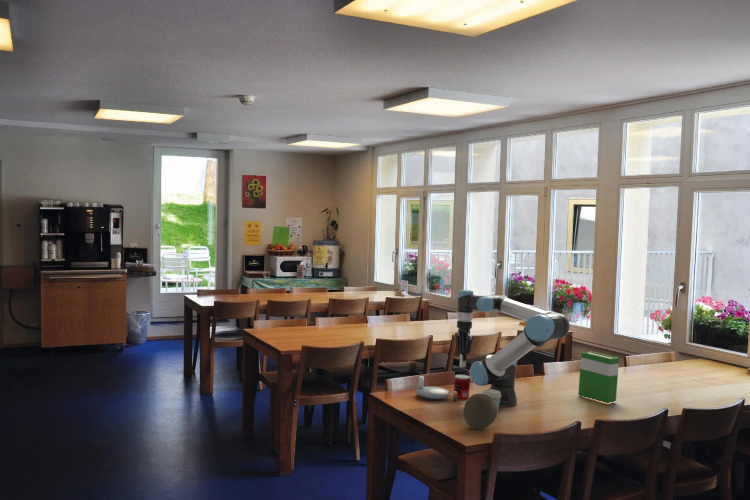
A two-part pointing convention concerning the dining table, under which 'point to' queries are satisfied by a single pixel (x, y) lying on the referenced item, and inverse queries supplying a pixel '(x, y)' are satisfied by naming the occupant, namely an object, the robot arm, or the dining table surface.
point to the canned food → (462, 386)
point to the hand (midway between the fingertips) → (462, 366)
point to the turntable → (431, 391)
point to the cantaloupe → (480, 411)
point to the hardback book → (598, 376)
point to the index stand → (441, 399)
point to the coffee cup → (493, 396)
